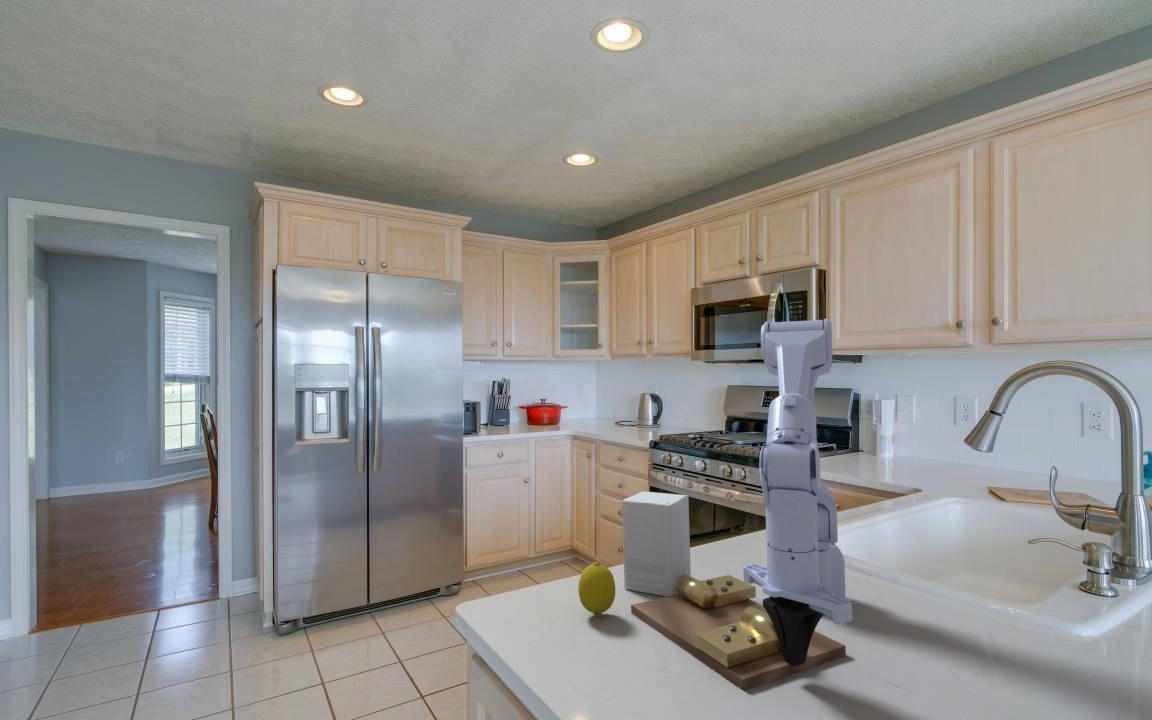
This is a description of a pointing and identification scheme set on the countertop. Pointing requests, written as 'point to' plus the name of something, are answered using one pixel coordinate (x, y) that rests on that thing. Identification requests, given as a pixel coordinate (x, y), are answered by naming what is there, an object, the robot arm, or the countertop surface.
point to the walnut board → (689, 618)
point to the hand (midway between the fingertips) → (794, 662)
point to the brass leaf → (740, 639)
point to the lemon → (596, 588)
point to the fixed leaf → (714, 590)
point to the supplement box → (655, 542)
